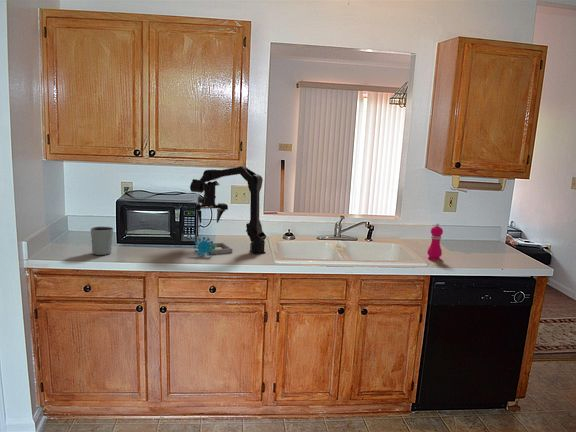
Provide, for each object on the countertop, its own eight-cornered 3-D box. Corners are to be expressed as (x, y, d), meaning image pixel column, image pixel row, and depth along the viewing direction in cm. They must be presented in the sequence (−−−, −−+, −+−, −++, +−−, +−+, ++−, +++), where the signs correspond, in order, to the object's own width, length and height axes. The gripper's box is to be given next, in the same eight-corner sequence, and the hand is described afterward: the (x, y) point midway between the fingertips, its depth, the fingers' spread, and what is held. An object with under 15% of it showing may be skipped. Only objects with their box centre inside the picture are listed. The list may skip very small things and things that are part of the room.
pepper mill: (431, 263, 248) (435, 224, 244) (423, 259, 254) (427, 222, 251) (443, 262, 250) (447, 224, 247) (435, 259, 256) (439, 222, 253)
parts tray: (223, 247, 258) (223, 242, 257) (232, 253, 245) (232, 248, 245) (203, 248, 253) (203, 243, 253) (212, 254, 240) (212, 249, 240)
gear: (192, 256, 233) (193, 236, 237) (195, 259, 239) (196, 240, 243) (215, 255, 233) (216, 236, 237) (217, 259, 238) (218, 240, 242)
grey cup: (86, 252, 231) (86, 228, 229) (102, 249, 240) (102, 225, 238) (101, 256, 227) (101, 231, 225) (118, 252, 236) (117, 228, 234)
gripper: (221, 191, 264) (220, 219, 266) (188, 191, 255) (187, 220, 258) (228, 194, 254) (227, 223, 256) (193, 194, 246) (193, 224, 248)
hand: (208, 222), depth 255 cm, fingers open, 9 cm apart
